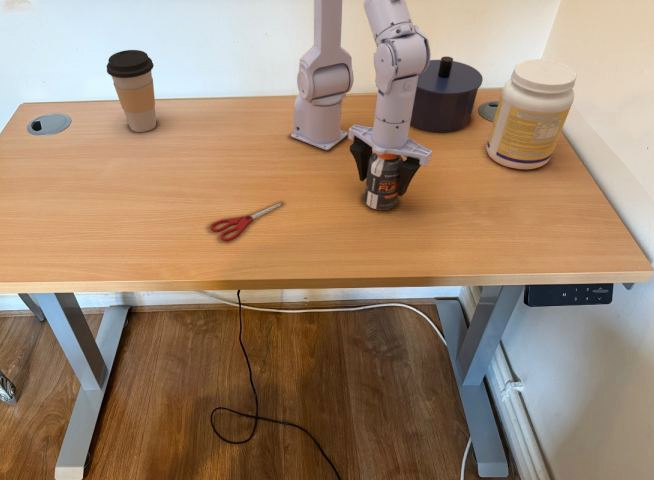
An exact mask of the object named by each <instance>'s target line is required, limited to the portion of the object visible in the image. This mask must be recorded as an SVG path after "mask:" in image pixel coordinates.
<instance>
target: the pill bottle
mask: <svg viewBox="0 0 654 480" xmlns="http://www.w3.org/2000/svg"><path fill="white" fill-rule="evenodd" d="M403 161H405V159H404V158H403V156H401V155H396V154H389V153H384V154H383V155H379V154H377V153H374V152H373V153H372V156H371V157H370V159H369V165H368V172H367V178H366V179H365V189H364V196H363V201H364V203H365V205H366V206H368V207H369V208H371V209H374V210H377V211H388V210H390V209H392V208H394V207H395V206H396V205H397V203H398V199H399V196H398V195H397V191H398V186H399V181H400V171H399V165H400V164H401V163H402V162H403Z"/></svg>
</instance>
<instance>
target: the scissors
mask: <svg viewBox="0 0 654 480" xmlns="http://www.w3.org/2000/svg"><path fill="white" fill-rule="evenodd" d="M281 205H282V203H281V202H280V203H276V204H275V205H272V206H269V207H267V208H265V209H263V210H260V211H258V212H256V213H254V214H252V215H245V216H238V217H231V218H225V219H221V220H220V219H219V220H217V221H215V222H212V223H211V225H210V231H212V232H214V233H219V232H222V231H223V232H222V233H221V234H220V236H219V237H220V240H221V241H222V242H231V241H233V240H235V239H236V238H238V237H239V236H240V235H241V234H242V232H244V230H245V229H246V228H247V227H248V226H249V224H251V222H253V220H255V219H257V218H259V217H262V215H265V214H266V213H269V212H270V211H273V210H274V209H276V208H278V207H280V206H281ZM224 223H225V225H223V226H221V227H219V228H215V227H216V226H219V225H221V224H224ZM232 226H233V227H232ZM229 227H232V228H229ZM228 228H229V229H228ZM233 232H236V233H234V235H231V236H229V237H225V236H226V235H228V234H231V233H233Z"/></svg>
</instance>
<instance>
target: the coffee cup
mask: <svg viewBox="0 0 654 480" xmlns="http://www.w3.org/2000/svg"><path fill="white" fill-rule="evenodd" d="M153 68H154V63H153V60H152V58H150V57H149V55H148V53H146V52H145V51H143V50H139V49H126V50H120V51H118V52H114V53H113V54H112V55H110V56H109V58H108V62H107V64H106V73H107V74H108V75H109V76H111V78H112V81H113V87H114V89H115V92H116V95H117V98H118V100H119V104H120V106H121V109H122V110H123V112H124V115H125V118H126V121H127V123H128V126H129V129H130V131H132V132H136V133H145V132H149V131H152V130H153V129H154V128H156V126H157V116H156V98H155V88H154V78H153V74H152V70H153Z"/></svg>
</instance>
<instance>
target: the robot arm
mask: <svg viewBox="0 0 654 480" xmlns="http://www.w3.org/2000/svg"><path fill="white" fill-rule="evenodd" d="M363 9H364V11H365V15H366V18H367V22H368V25H369V28H370V30H371V34H372V37H373V40H374V43H375V47H376V49H375V51H374V52H373V66H374V70H375V80H374V82H375V87H376V88H377V95H376V96H377V97H376V102H375V111H374V119H373V127H371V126H366V125H365V126H364V125H359V124H356V123H355V124H353V125H351V127H349V128H348V131H346V130H343V129H341V124H342V111H343V100H344V99H346V98H347V93H349V92H351V90H352V88H353V85H354V82H355V81H354V77H355V76H354V70H353V64H352V63H353V61H352V60H353V59H352V56H351V54H350V53H349V51H347V50H346V49H345V48H343V47H342V24H343V22H342V21H343V19H342V18H343V0H313V45H312V46H311V47H310V48H309V49H308V50H307V51H306V52H305V53H304V54H303V55H301V57H300V58H299V62H298V72H297V76H296V84H297V89H298V90H297V91H298V92H299V93H298V94H297V96H296V98H295V100H294V104H293V121H292V122H293V123H292V124H293V127H292V128H293V132H292V133H291V135H290V136H291V138H293V139H296V140H298V141H300V142H303V143H306V144H308V145H311V146H313V147H316V148H319V149H322V150H324V151H330V150H331V149H332V148H333V147H335V146H336V145H337V144H339V142H341V141H342V140H343V139H345V138H346V137H347V139H348V140H351V141H353V142H352V143H351V144H350V145H349V152H350V154H351V155H352V157H353V159H354V161H355V164H356V168H357V172H358V179H359V181H360V182H364V181H366V180H367V172H368V165H369V159H370V157H371V156H372V155H373V154H374V153H377V154H379V155H383V154H384V153H389V154H396V155H400V156H401V157H404V158H406V159H404V161H403V162H402V163H401V164H400V165H399V171H400V181H399V186H398V191H397V195H398V197H403V196H404V195H405V194H406V193H407V191H408V188H409V186H410V183H411V182H412V180H413V178H414V177H415V175H416V173H417V172H418V171H419V169H420V168H421V167H426V166H428V164H429V163H430V162H431V159H432V155H433V150H432V149H429V148H427V147H425V146H423V145H422V144H420V143H418V142H416V141H415V140H414V139H413V138H410V137H409V133H410V127H411V125H410V122H411V116H412V110H413V104H414V99H415V93H416V87H417V82H418V74H420V73H423V72H425V71H426V69H427V68H428V66H429V63H430V60H431V57H432V56H431V54H432V53H431V46H430V41H429V38H428V36H427V35H426V34H425V33H424V31H421V30H420V28H419V26H418V25H417V24H414V23H413V20H412V17H411V14H410V11H409V7H408V4H407V2H406V0H364V2H363Z"/></svg>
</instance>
